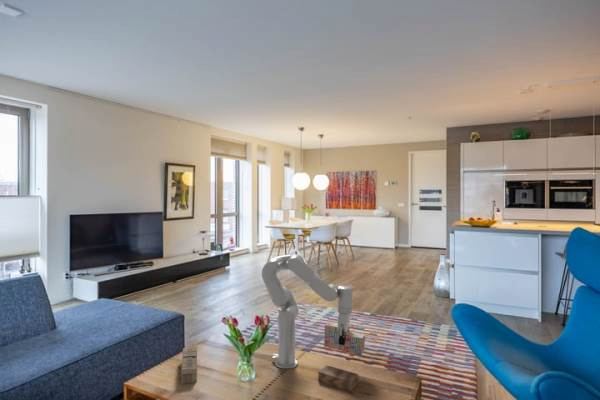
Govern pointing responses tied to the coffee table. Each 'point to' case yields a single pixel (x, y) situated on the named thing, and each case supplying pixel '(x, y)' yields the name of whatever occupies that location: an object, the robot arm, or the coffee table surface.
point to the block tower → (189, 365)
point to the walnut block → (338, 377)
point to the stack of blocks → (352, 339)
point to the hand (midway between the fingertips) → (343, 341)
